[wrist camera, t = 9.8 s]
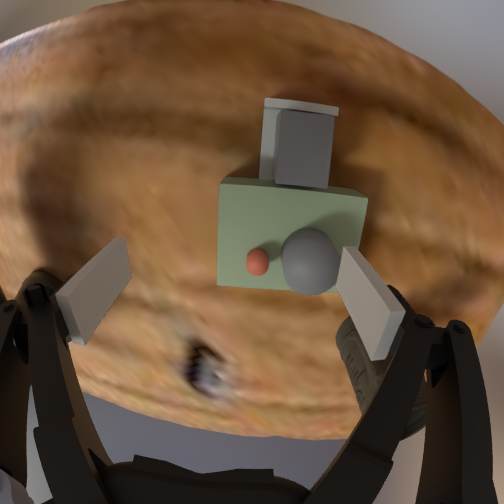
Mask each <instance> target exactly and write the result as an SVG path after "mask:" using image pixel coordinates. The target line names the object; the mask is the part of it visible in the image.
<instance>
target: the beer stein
mask: <svg viewBox="0 0 504 504" xmlns="http://www.w3.org/2000/svg"><path fill="white" fill-rule="evenodd" d="M336 344H337V347H338V349H339V351H340V355H341V358H342V360H343V362H344V364H345V366H346V368H347V371H348V374H349V377H350V380H351V383H352V386H353V389H354V392H355V394H356V399H357V401H358V404H359V408H360V410H361V413H362V415H363V413H364V411H365V410H366V408H367V406H368V404H369V402H370V401H371V399H372V397H373V395H374V393H375V391H376V389H377V387H378V385H379V383H380V382H381V380H382V377H383V375H384V373H385V371H386V369H387V367H388V365H389V363H390V361H391V359H392V357H393V354H392V353H391V351H390V350H389V352H388V354H387V357H386V359H383V360H374V361H371V360H370V357H369V355H368V353H367V351H366V348H365V346H364V344H363V342H362V340H361V337H360V335H359V333H358V331H357V329H356V327H355V325H354V322H353V320H352V318H351V316H350V317H348V318H347V319H346V320H345V321H344V322H343V323H342V325H341V326H340V328H339V330H338V332H337V335H336ZM426 412H427V383H426V381H425V377H424V375H423V378H422V382H421V385H420V388H419V391H418V394H417V397H416V400H415V403H414V406H413V409H412V411H411V414H410V417H409V419H408V422H407V424H406V427H405V429H404V432H403V434H402V436H401V439H400V441H401V440H404V439H406V438H408V437H410V436H411V435H413V434H415V433H417V432H418V431H420V430H421V429H422V428H424V427H425V426H426Z"/></svg>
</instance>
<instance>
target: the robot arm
mask: <svg viewBox="0 0 504 504" xmlns="http://www.w3.org/2000/svg"><path fill="white" fill-rule="evenodd" d="M130 279H131V272H130V266H129V260H128V253H127V246H126V239H125V238H114V239H113V240H112V241H110V242H109V243H108V244H107V245H106V246H105V247H104V248H103V249H101V250H100V251H99V252H98V253H97V254H96V255H95V256H94V257H93V258H92V259H91V260H90V261H88V262H87V263H86V264H85V265H84V266H83V267H82V268H81V269H80V270H79V271H78V272H77V273H75V274H73V275H71V276H70V277H69V278H67V279H66V280H65V281H64V283H61V282H60V281H59V280H58V279H57V278H55V277H54V276H52V275H51V274H49V273H46V272H43V271H36V272H33V273H32V274H31V275H29V276H28V277H27V278H26V279H25V280H24V282H23V284H22V286H21V288H20V290H19V292H18V293H17V295H16V297H15V299H14V300H7V299H6V297H5V295H4V293H3V290H2V288H1V286H0V504H34V501H33V500H32V498H30V497H29V496H28V493H27V491H26V485H27V455H26V432H27V411H28V400H29V390H30V386H31V385H32V390H33V396H34V402H35V408H36V414H37V419H38V424H39V427H35V428H34V430H33V432H34V439H35V443H36V447H37V450H38V454H39V458H40V461H41V465H42V468H43V471H44V474H45V477H46V480H47V483H48V486H49V488H50V491H51V493H52V496H53V498H52V499H50V500H48V501H46V502H44V503H42V504H372V503H373V501H374V500H375V498H376V496H377V495H378V493H379V491H380V490H381V488H382V486H383V484H384V482H385V480H386V479H387V477H388V475H389V473H390V471H391V469H392V466H393V461H392V460H391V459H392V456H393V454H394V452H395V450H396V448H397V445H398V443H399V441H400V439H401V436H402V434H403V432H404V429H405V427H406V424H407V422H408V419H409V417H410V414H411V411H412V409H413V406H414V403H415V400H416V397H417V394H418V391H419V388H420V385H421V382H422V378H423V375H424V372H425V369H426V373H427V412H426V431H425V443H424V453H423V461H422V468H421V475H420V482H419V486H418V492H417V497H416V503H415V504H498V500H497V496H496V491H495V487H494V483H493V480H492V477H493V474H492V473H493V455H492V437H491V426H490V417H489V409H488V402H487V396H486V390H485V385H484V380H483V375H482V371H481V367H480V362H479V358H478V355H477V351H476V347H475V343H474V340H473V337H472V333H471V330H470V328H469V327H468V326H467V325H466V324H465V323H463V322H462V321H459V320H450V321H449V323H448V325H447V327H446V328H441V327H435V324H434V323H433V321H432V320H431V319H430V318H428V317H426V316H424V315H420V314H416V313H415V312H414V310H413V309H412V308H411V307H410V305H409V304H408V303H407V301H406V300H405V299H404V298H403V297H402V295H401V294H400V292H399V291H398V290H397V289H395V288H394V287H392V286H391V285H386V284H385V283H384V281H383V280H382V279H381V278H380V276H379V275H378V274H377V273H376V271H375V270H374V269H373V268H372V266H371V265H370V264H369V263H368V261H367V260H366V259H365V258H364V257H363V255H362V254H361V253H360V252H359V251H358V249H357V248H356V247H352V246H344V247H343V253H342V258H341V263H340V268H339V273H338V278H337V283H336V288H337V290H338V292H339V294H340V296H341V298H342V300H343V302H344V304H345V306H346V308H347V310H348V312H349V314H350V316H351V318H352V320H353V322H354V325H355V327H356V329H357V331H358V333H359V335H360V337H361V340H362V342H363V344H364V346H365V348H366V351H367V353H368V355H369V357H370V360H371V361H374V360H383V359H386V357H387V354H388V352H389V350H390V351H391V353H392V354H393V357H392V359H391V361H390V363H389V365H388V367H387V369H386V371H385V373H384V375H383V377H382V380H381V382H380V383H379V385H378V387H377V389H376V391H375V393H374V395H373V397H372V399H371V401H370V402H369V404H368V406H367V408H366V410H365V411H364V413H363V415H362V416H361V418H360V420H359V422H358V423H357V425H356V426H355V428H354V430H353V431H352V433H351V434H350V436H349V438H348V439H347V441H346V442H345V444H344V445H343V447H342V448H341V450H340V451H339V453H338V454H337V456H336V457H335V458H334V460H333V461H332V463H331V464H330V465H329V467H328V468H327V469H326V471H325V472H324V473H323V474H322V476H321V477H320V478H319V479H318V481H317V482H316V483H315V484H314V485H313V487H312V488H311V489H310V490H308V489H307V488H305V487H304V486H302V485H300V484H298V483H296V482H294V481H291V480H289V479H285V478H281V477H277V476H274V473H273V469H234V470H227V471H221V472H213V473H205V474H201V473H196V472H193V471H191V470H188V469H185V468H182V467H180V466H177V465H175V464H172V463H169V462H167V461H163V460H157V459H153V458H148V457H143V456H139V455H134V459H133V461H131V462H121V463H116V464H113V462H112V461H111V459H110V458H109V457H108V455H107V453H106V451H105V449H104V447H103V445H102V443H101V440H100V438H99V436H98V434H97V431H96V429H95V426H94V424H93V422H92V419H91V417H90V414H89V411H88V409H87V406H86V403H85V400H84V397H83V395H82V392H81V389H80V385H79V382H78V379H77V376H76V372H75V369H74V365H73V362H72V358H71V354H70V350H69V346H68V342H70V341H73V343H77V344H81V345H86V344H87V342H88V340H89V339H90V337H91V336H92V334H93V333H94V331H95V330H96V328H97V326H98V325H99V323H100V322H101V320H102V319H103V317H104V316H105V314H106V313H107V312H108V310H109V309H110V307H111V306H112V304H113V303H114V301H115V300H116V299H117V297H118V296H119V294H120V293H121V291H122V290H123V289H124V287H125V286H126V284H127V283H128V282H129V280H130Z"/></svg>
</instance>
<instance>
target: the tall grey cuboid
mask: <svg viewBox="0 0 504 504" xmlns="http://www.w3.org/2000/svg"><path fill="white" fill-rule="evenodd" d="M334 123H335V117H331V116H325V115H318V114H311V113H304V112H296V111H287V110H281V111H280V112H279V113H278V114H277V118H276V131H275V144H274V156H273V169H272V175H273V178H274V181H275V183H276V184H287V185H298V186H307V187H316V188H325V189H327V187H328V179H329V171H330V163H331V154H332V144H333V134H334Z"/></svg>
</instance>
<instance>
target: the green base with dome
mask: <svg viewBox="0 0 504 504" xmlns="http://www.w3.org/2000/svg"><path fill="white" fill-rule="evenodd" d="M281 110H287V111H296V112H304V113H311V114H318V115H325V116H331V117H335V116H338V112H339V107H334V106H329V105H323V104H316V103H310V102H302V101H294V100H286V99H276V98H265V102H264V115H263V128H262V142H261V155H260V168H259V179H258V178H243V177H225V178H224V179H223V180H222V181H221V182H220V184H219V210H218V250H217V285H221V286H234V287H247V288H261V289H276V290H292V291H295V292H297V293H300V294H303V295H317V294H321V293H324V292H332V293H339V292H338V290H337V288H336V283H337V278H338V273H339V268H340V263H341V258H342V253H343V247H344V246H352V247H356V248H357V249H358V248H359V244H360V239H361V235H362V230H363V225H364V220H365V215H366V210H367V204H368V199H369V198H367V197H366V196H364V195H363V194H361V193H359V192H358V191H356V190H355V189H350V188H343V187H335V186H328V187H327V189H325V188H316V187H307V186H298V185H287V184H276V183H275V181H274V178H273V175H272V169H273V156H274V144H275V131H276V118H277V114H278V113H279V112H280V111H281Z"/></svg>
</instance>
